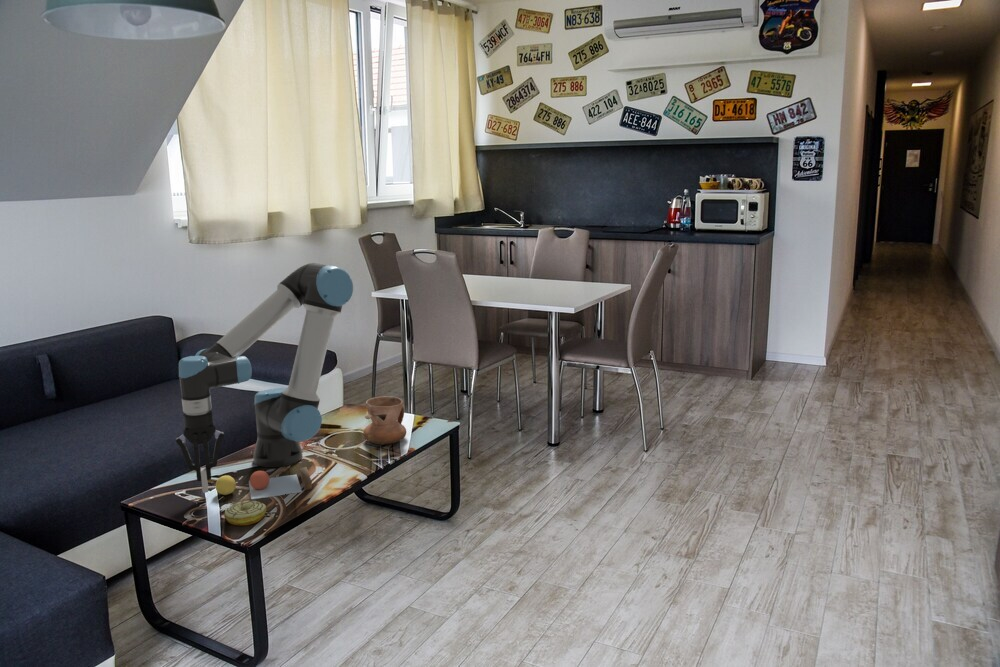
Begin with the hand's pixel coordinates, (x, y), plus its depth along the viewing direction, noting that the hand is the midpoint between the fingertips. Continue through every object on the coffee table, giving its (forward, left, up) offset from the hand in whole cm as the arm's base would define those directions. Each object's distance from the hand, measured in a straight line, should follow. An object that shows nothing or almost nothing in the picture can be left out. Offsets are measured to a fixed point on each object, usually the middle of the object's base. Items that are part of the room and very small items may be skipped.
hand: (205, 490), depth 225 cm
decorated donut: (-10, +19, -2) cm, 22 cm away
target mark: (-19, 0, -2) cm, 19 cm away
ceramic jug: (-58, -27, -2) cm, 64 cm away
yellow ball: (-5, 0, +1) cm, 6 cm away
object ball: (-15, 0, +1) cm, 15 cm away
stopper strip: (-28, 0, -2) cm, 28 cm away
